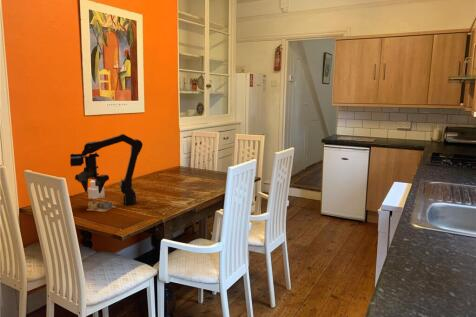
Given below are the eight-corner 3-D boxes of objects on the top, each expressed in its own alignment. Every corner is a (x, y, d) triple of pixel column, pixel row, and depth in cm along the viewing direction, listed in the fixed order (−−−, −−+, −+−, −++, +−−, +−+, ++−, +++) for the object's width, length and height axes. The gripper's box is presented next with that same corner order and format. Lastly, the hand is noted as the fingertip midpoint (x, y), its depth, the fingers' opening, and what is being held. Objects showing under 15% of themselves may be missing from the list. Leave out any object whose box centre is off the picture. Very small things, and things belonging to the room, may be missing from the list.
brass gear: (103, 206, 208) (102, 201, 208) (95, 209, 202) (95, 204, 202) (93, 205, 210) (93, 200, 210) (86, 208, 204) (85, 203, 204)
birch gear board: (115, 208, 208) (115, 199, 208) (104, 213, 199) (103, 204, 198) (98, 206, 212) (97, 198, 211) (86, 211, 203) (85, 202, 202)
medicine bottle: (99, 196, 235) (97, 178, 233) (105, 198, 231) (103, 179, 229) (88, 199, 230) (87, 180, 228) (94, 200, 225) (92, 181, 223)
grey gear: (114, 206, 209) (114, 201, 208) (109, 209, 202) (108, 204, 202) (104, 205, 210) (103, 200, 209) (98, 209, 203) (98, 204, 203)
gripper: (66, 166, 197) (68, 194, 200) (95, 168, 192) (97, 197, 194) (81, 163, 208) (83, 190, 210) (108, 164, 202) (110, 192, 205)
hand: (93, 192), depth 205 cm, fingers open, 9 cm apart
